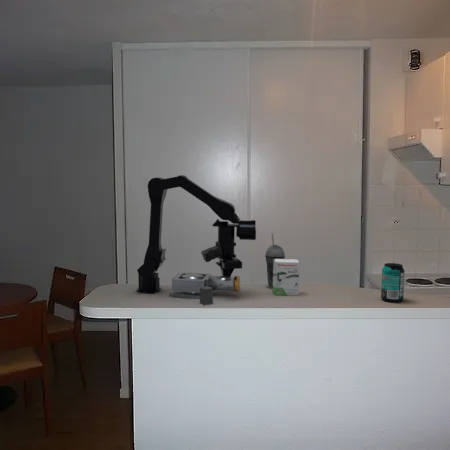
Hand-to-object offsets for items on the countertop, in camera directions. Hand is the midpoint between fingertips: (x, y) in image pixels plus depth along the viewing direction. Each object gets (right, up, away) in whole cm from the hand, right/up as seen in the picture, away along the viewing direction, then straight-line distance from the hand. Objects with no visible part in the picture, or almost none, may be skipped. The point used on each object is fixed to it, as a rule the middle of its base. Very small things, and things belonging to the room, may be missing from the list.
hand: (225, 283), depth 174 cm
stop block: (-6, -5, -14) cm, 16 cm away
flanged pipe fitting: (-7, -2, -3) cm, 7 cm away
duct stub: (-11, -3, -2) cm, 12 cm away
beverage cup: (+18, -3, +9) cm, 20 cm away
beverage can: (+55, -5, -9) cm, 56 cm away
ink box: (+21, -4, -1) cm, 21 cm away
